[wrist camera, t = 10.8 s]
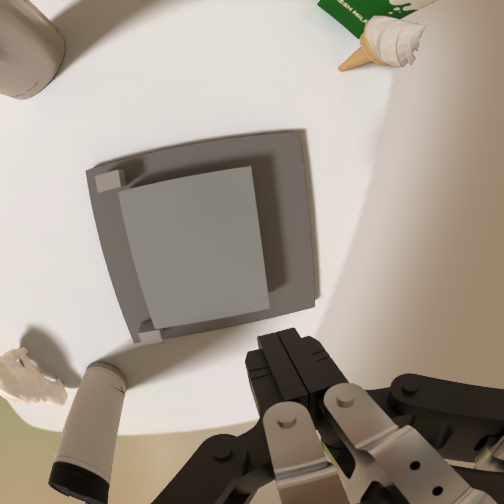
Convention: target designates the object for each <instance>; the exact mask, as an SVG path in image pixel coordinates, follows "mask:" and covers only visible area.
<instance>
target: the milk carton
mask: <svg viewBox="0 0 504 504" xmlns="http://www.w3.org/2000/svg"><path fill="white" fill-rule="evenodd" d="M435 1H437V0H320V1H319V3H318V4H317V5H318V6H320V7H321V8H322V9H323V10H325V11H326V12H327V13H329V14H330V15H331V16H332V17H334V18H335V19H336V20H337V21H338V22H340V23H341V24H342V25H343V26H344V27H345V28H347V29H348V30H349V31H350V32H351V33H352V34H353V35H355V36H356V37H357V38H358V39H359V38H360V37H361V34H363V33H364V28H365V25H366V24H367V23H368V22H369V21H370V19H371V18H372V17H373V16H387V17H392V18H396V19H401V18H403V17H405V16H407V15H408V14H411V13H413V12H415V11H417V10H419V9H421V8H423V7H425V6H427V5H429V4H431V3H433V2H435Z"/></svg>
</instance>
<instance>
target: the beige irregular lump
mask: <svg viewBox="0 0 504 504" xmlns="http://www.w3.org/2000/svg"><path fill="white" fill-rule="evenodd" d="M27 352H28V350H27V348H25V347H22V348H18V349H12V350H10V351H8V352H6V353H5V354H4V355H3V356H1V357H0V395H1V396H2V397H4V398H5V399H7V400H9V401H11V402H14V403H22V404H28V403H37V402H47V403H49V404H52V405H56V406H62V405H63V404H65V402H66V400H67V392H66V390H65V388H64V385H63V383H62V382H61V380H60V378H59V376H58V378H59V379H58V378H57V377H56V378H57V379H58V381H57V380H56V381H54V382H53V381H50V380H49V379H47V378H45V377H44V376H43V375H42V373H40V372H39V371H38V370H37V369H36V367H35V366H34V364H33V363H32V362H31V361H30V359H29V358H28V357H27V356H26V355H27ZM18 359H21V360H22V361H23V364H24V366H25V367H24V366H23V365H22V364H21V363H20V362H19V361H16V360H18Z"/></svg>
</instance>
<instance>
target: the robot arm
mask: <svg viewBox="0 0 504 504" xmlns="http://www.w3.org/2000/svg"><path fill="white" fill-rule="evenodd" d="M64 53H65V43H64V40H63V38H62V37H61V36H60V35H59V34H58V33H57V27H56V26H55V25H54V24H53V23H52V22H51V21H50V20H49V19H48V18H47V17H46V16H45V15H44V14H43V13H42V12H41V11H40V10H39V9H38V8H37V7H35V6H34V5H33V4H32V3H31V2H30V1H29V0H0V94H3V95H6V96H10V97H13V98H16V99H27V98H29V97H32V96H34V95H35V94H37V93H38V92H40V91H41V90H42V89H43V88H44V87H45V86H46V85H47V84H48V83H49V82H50V81H51V80H52V78H53V77H54V75H55V74H56V72H57V71H58V69H59V67H60V65H61V63H62V60H63V57H64ZM257 340H258V347H259V349H258V350H254V351H249V352H248V353H247V356H246V360H245V364H246V369H247V373H248V378H249V383H250V387H251V390H252V394H253V397H254V400H255V403H256V407H257V410H258V413H259V416H260V418H259V421H258V422H257V424H256V425H255V426H254V427H253V428H252V429H251V430H249V431H247V432H246V433H244V434H242V435H240V436H238V437H236V436H234V435H230V434H219V435H214V436H212V437H210V438H208V439H206V440H205V441H204V442H203V443H202V444H201V445H200V447H199V448H198V449H197V450H196V452H195V453H194V454H193V455H192V457H191V458H190V459H189V460H188V462H187V463H186V464H185V465H184V466H183V468H182V469H181V470H180V471H179V472H178V473H177V475H176V476H175V477H174V478H173V479H172V481H171V482H170V483H169V484H168V485H167V486H166V488H165V489H164V490H163V491H162V492H161V493H160V494H159V495H158V496H157V498H156V499H155V500H154V501H153V502H152V503H151V504H249V503H250V501H251V500H252V498H253V496H254V495H255V493H256V492H257V490H258V488H260V487H262V486H264V485H266V484H267V483H269V482H271V481H272V480H274V479H276V483H277V487H278V491H279V496H280V500H281V504H350V502H349V500H348V497H347V495H346V492H345V490H344V487H343V485H342V482H341V480H340V477H339V475H340V476H341V478H342V479H343V481H344V483H345V486H346V491H347V494H348V496H349V498H350V499H351V501H352V503H353V504H504V389H497V388H489V387H482V386H475V385H469V384H463V383H457V382H452V381H446V380H441V379H436V378H431V377H426V376H422V375H417V374H403V375H400V376H398V377H396V378H395V379H394V380H393V382H392V383H391V386H390V387H388V388H383V389H376V390H364V389H363V388H362V387H360V386H358V385H356V384H353V383H349V382H348V381H347V379H346V378H345V376H344V375H343V374H342V372H341V371H340V370H339V368H338V367H337V365H336V364H335V363H334V361H333V360H332V358H330V356H329V354H328V353H327V352H326V351H325V349H324V347H323V346H322V345H321V343H320V342H319V341H317V340H316V339H314V338H312V337H311V336H307V337H304V338H301V337H300V335H299V334H298V332H297V331H296V329H295V328H290V329H286V330H282V331H278V332H276V333H271V334H266V335H262V336H258V337H257ZM316 430H318V432H319V434H320V435H321V443H320V440H319V438H318V435H317V432H316ZM324 451H325V453H326V454H327V456H328V458H329V459H330V460H331V462H332V463H329V462H328V461H327V458H326V456H325V453H324ZM443 458H444V459H450V460H457V461H464V462H473V463H475V466H474V469H470V468H465V467H458V466H453V465H449V464H448V463H447V462H446V461H445V460H444V459H443ZM338 473H339V475H338Z"/></svg>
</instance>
